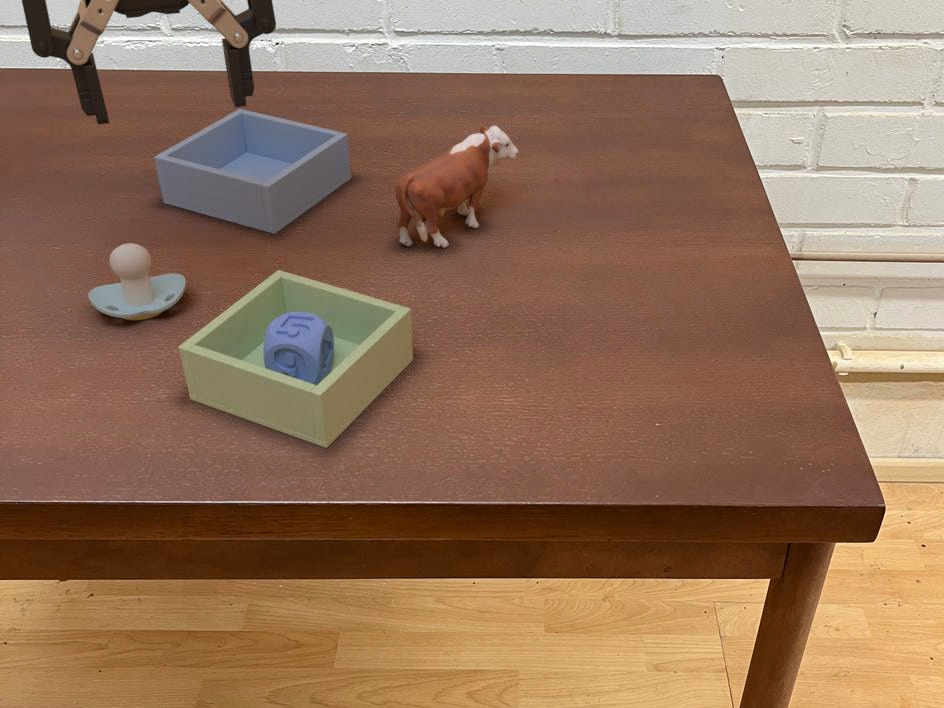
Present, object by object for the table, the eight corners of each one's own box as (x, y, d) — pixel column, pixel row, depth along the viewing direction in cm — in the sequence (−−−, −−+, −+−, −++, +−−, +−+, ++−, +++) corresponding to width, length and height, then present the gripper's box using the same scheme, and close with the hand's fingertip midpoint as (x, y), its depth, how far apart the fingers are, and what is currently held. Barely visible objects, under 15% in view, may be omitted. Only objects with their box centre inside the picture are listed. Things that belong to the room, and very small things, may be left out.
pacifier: (90, 299, 81) (99, 335, 77) (69, 227, 77) (77, 261, 73) (181, 281, 83) (195, 316, 79) (166, 211, 79) (179, 243, 75)
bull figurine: (523, 213, 93) (527, 126, 87) (416, 265, 85) (412, 174, 80) (489, 197, 95) (491, 111, 89) (382, 246, 88) (376, 157, 82)
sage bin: (189, 399, 71) (177, 346, 68) (285, 319, 79) (278, 269, 76) (326, 448, 67) (320, 395, 64) (413, 359, 75) (411, 308, 72)
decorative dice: (336, 359, 74) (331, 313, 71) (322, 392, 71) (316, 345, 69) (283, 354, 75) (277, 308, 72) (267, 386, 72) (259, 339, 69)
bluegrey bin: (163, 203, 93) (153, 156, 90) (246, 152, 102) (239, 108, 99) (274, 234, 89) (267, 186, 86) (351, 178, 98) (347, 133, 95)
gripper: (235, -207, 58) (271, 78, 69) (-30, -196, 54) (52, 103, 65) (259, -185, 53) (293, 120, 64) (-33, -171, 49) (57, 149, 60)
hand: (171, 111), depth 64 cm, fingers open, 8 cm apart
